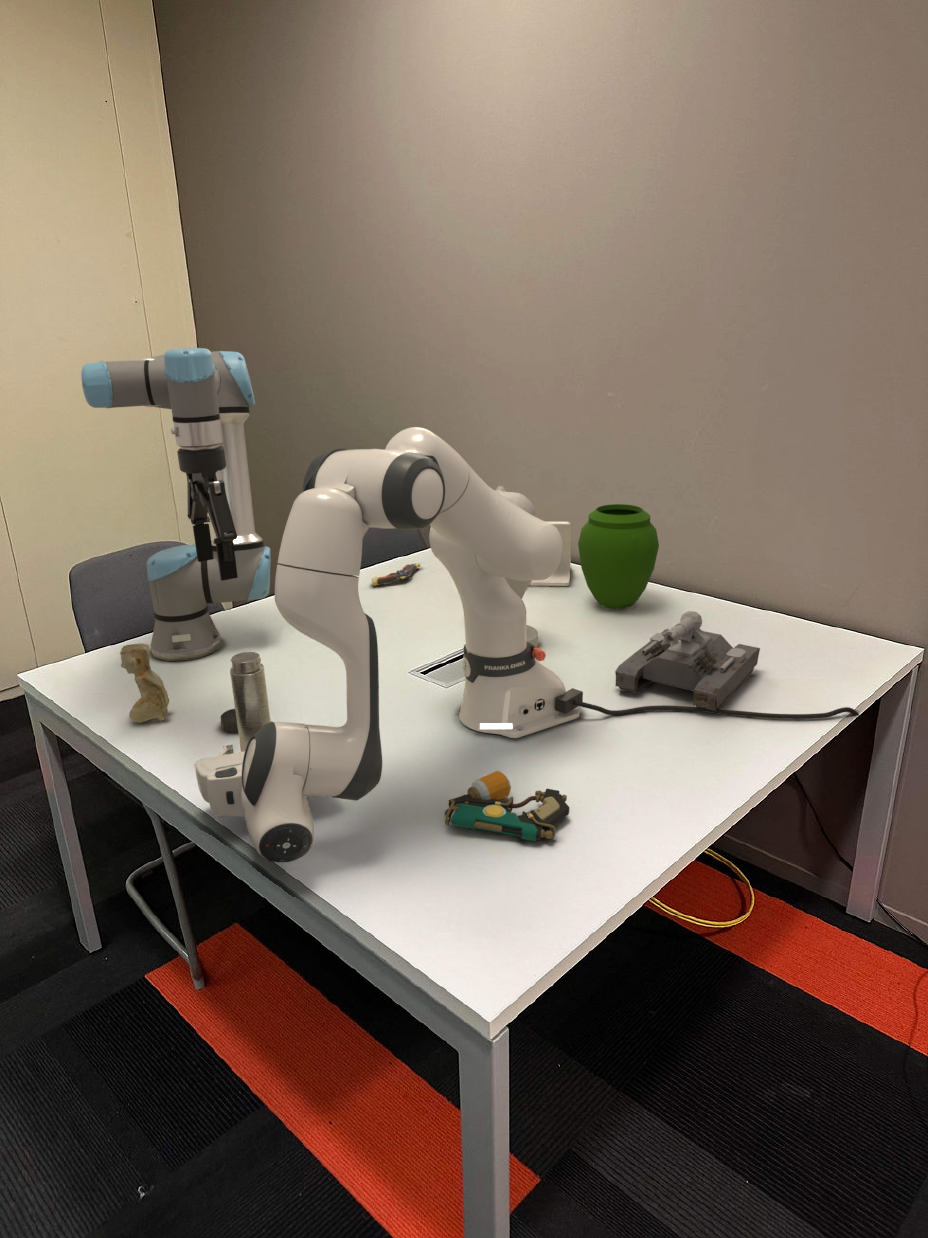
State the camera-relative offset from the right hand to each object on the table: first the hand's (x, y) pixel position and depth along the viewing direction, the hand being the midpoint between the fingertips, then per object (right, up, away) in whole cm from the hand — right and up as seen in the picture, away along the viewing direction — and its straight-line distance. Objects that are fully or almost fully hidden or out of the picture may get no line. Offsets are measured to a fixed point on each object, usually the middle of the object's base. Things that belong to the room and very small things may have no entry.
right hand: (258, 743), depth 138 cm
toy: (+78, +8, +33) cm, 85 cm away
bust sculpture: (+41, +15, +56) cm, 71 cm away
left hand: (-10, +29, +10) cm, 32 cm away
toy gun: (+14, +32, +102) cm, 108 cm away
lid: (-9, +2, +20) cm, 22 cm away
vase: (+72, +24, +76) cm, 107 cm away
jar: (-2, -4, +7) cm, 9 cm away
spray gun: (+40, -10, -10) cm, 43 cm away
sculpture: (-26, +1, +24) cm, 36 cm away
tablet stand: (+51, +32, +101) cm, 117 cm away
